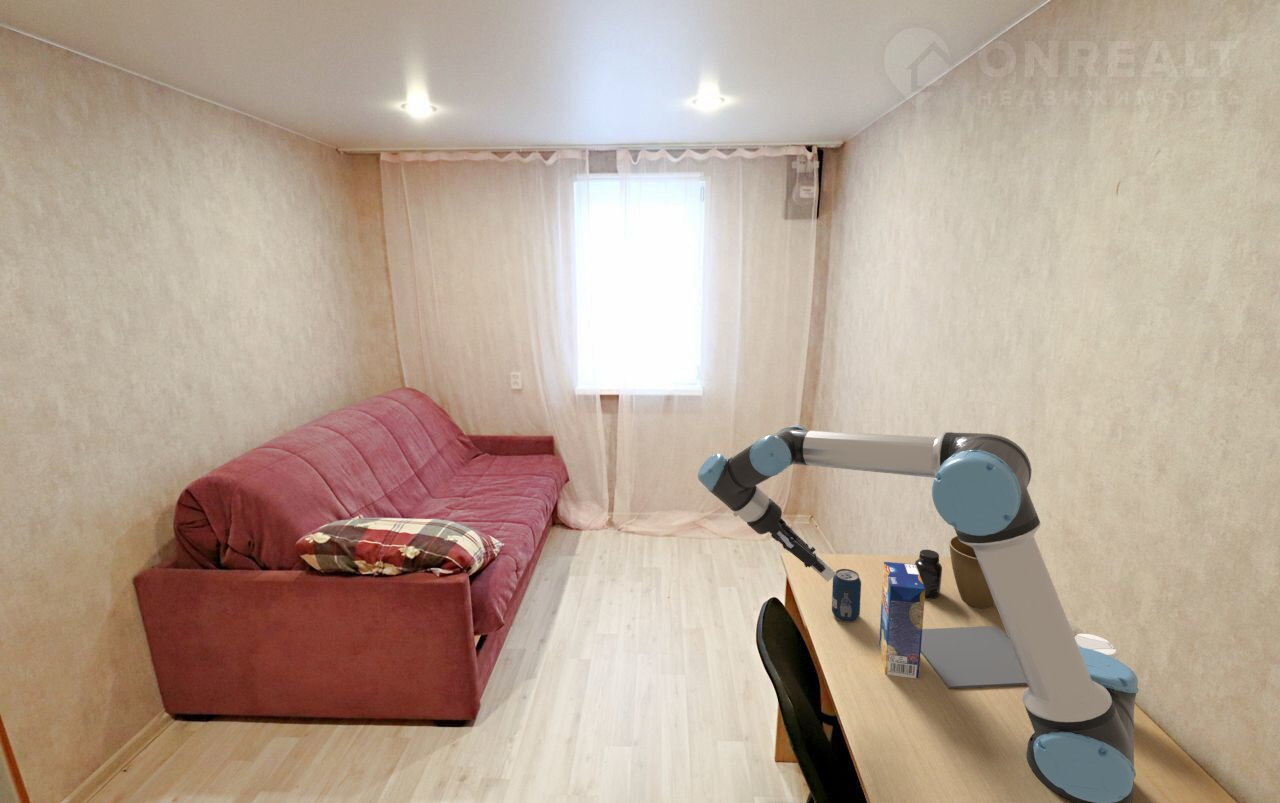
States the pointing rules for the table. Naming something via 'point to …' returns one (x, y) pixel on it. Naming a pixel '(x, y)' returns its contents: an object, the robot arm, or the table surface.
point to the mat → (972, 657)
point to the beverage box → (901, 619)
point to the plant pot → (969, 575)
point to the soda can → (846, 595)
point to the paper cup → (1096, 644)
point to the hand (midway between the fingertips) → (831, 576)
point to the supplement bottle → (930, 572)
